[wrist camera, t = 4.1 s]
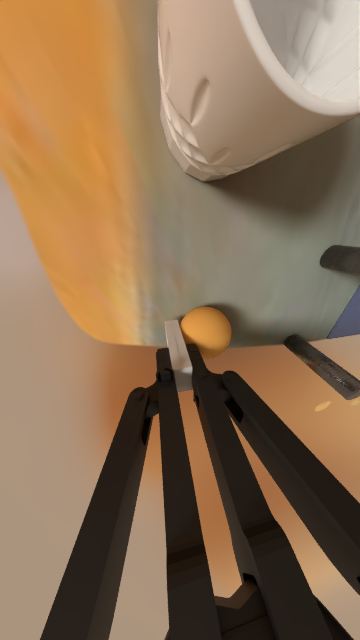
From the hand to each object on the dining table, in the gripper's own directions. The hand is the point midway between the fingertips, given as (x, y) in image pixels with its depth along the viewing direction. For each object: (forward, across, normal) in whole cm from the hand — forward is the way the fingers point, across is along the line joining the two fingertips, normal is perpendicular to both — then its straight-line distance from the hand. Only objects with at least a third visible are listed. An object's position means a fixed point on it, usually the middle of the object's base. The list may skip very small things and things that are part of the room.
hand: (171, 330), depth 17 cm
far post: (+2, -19, +6) cm, 20 cm away
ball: (-1, -3, 0) cm, 4 cm away
